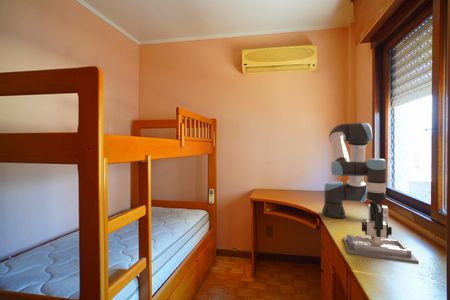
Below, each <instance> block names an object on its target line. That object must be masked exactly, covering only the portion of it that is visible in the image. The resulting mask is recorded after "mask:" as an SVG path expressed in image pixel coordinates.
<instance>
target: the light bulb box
mask: <svg viewBox="0 0 450 300" xmlns="http://www.w3.org/2000/svg"><path fill="white" fill-rule="evenodd" d="M381 205H382V208H383V222H387V224H388V225H389V208H388V207H389V206H388V205H383V204H381ZM368 220H370V203H368Z"/></svg>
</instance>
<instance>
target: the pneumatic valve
mask: <svg viewBox="0 0 450 300" xmlns="http://www.w3.org/2000/svg"><path fill="white" fill-rule="evenodd" d="M373 228H375V221H374V220H369V219H366V218H365V219H364V221H362V222H361V232H364V234H365V236H368V237H371V236H372V237H371V238H369V243H371V245H373V246H381V245H383V240H382V244H378V243H374V229H373ZM392 229H393V228H392V226H391V225H389V223H388V224H387V222H383V230H382V239H389V236H391V237H392V234H393V233H392V232H393V231H392Z"/></svg>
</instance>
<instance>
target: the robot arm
mask: <svg viewBox="0 0 450 300" xmlns="http://www.w3.org/2000/svg"><path fill="white" fill-rule="evenodd" d="M328 141H329V142H330V145H331V149H332V156H333V161H331V163H330V166H331V168H330V172H331V175H332V176H339V177H343V176H345V177H348V180H346V183H343V181H330V182H329V181H328V182H326V183H325V184H324V190H323V191H324V204H323V206H322V207H323V208H322V211H321V214H322V216H325V217H328V218H331V219H332V218H333V219H335V218H336V219H340V218H341V219H343V218H346V210H345V208H344V206H343V205H344V204H343V202H353V203H364V202H366V201H367V200H368V201H369V204H370V220H374V221H375V228H373V229H374V243H378V244H382V239H383V238H382V230H383V208H382V205H383V204H382V203H381V202H386V200H387V194H386V191H387V182H386V181H387V180H386V179H387V164H386V159H385V158H368V159H367V160H366V147H367V146H368V145H369V143H370V142H372V141H373V130H372V126H371V125H370V124H369V123H368V122H356V123H355V122H353V123H352V122H351V123H350V122H349V123H340V124H338V125H336V126H334V127H333V128H332V129H331V131H330V132H329V134H328ZM346 142H347V144H346ZM347 145H348V146H350V148H349V149H350V150H349V153H350V154H349V153H348V149H347ZM365 177H366V182H365V181H364V178H365ZM370 237H372V236H370Z"/></svg>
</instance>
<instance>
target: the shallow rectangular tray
mask: <svg viewBox="0 0 450 300" xmlns="http://www.w3.org/2000/svg"><path fill="white" fill-rule="evenodd" d="M346 237H347V241H348V244H349V246H350V249H353V250H360V251H368V252H376V253H384V254H391V255H399V256H407V257H411V254H412V250H411V249H410V248H409V247H408V246H407V245H406V244H405V243H404V242H403V241H402V240H398V239H397V240H396V239H390V238H382V240H383V245H381V246H373V245H371V243H369V238H371V236H361V235H353V234H346Z"/></svg>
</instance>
